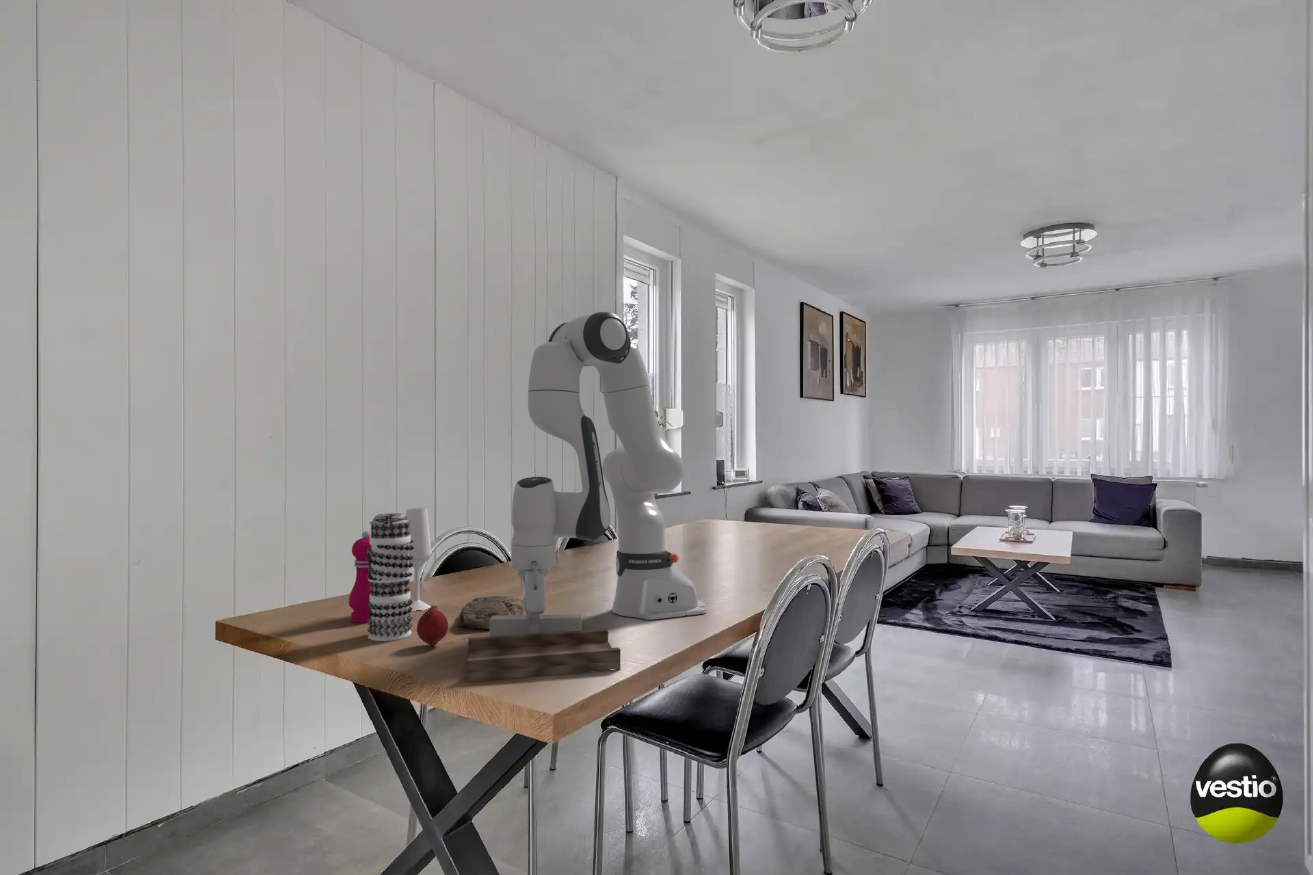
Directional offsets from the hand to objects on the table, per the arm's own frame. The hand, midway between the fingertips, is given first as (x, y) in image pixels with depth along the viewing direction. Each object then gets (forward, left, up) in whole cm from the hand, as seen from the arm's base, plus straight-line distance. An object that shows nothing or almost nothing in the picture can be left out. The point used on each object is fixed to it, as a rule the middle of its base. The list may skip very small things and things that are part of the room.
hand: (532, 626), depth 140 cm
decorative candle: (+28, -11, -3) cm, 30 cm away
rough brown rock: (+9, -19, -3) cm, 21 cm away
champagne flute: (+25, -35, -3) cm, 43 cm away
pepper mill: (+35, -26, -3) cm, 44 cm away
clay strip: (-1, 0, -3) cm, 3 cm away
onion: (+19, -1, -3) cm, 20 cm away
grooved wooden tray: (-1, +15, -3) cm, 16 cm away
